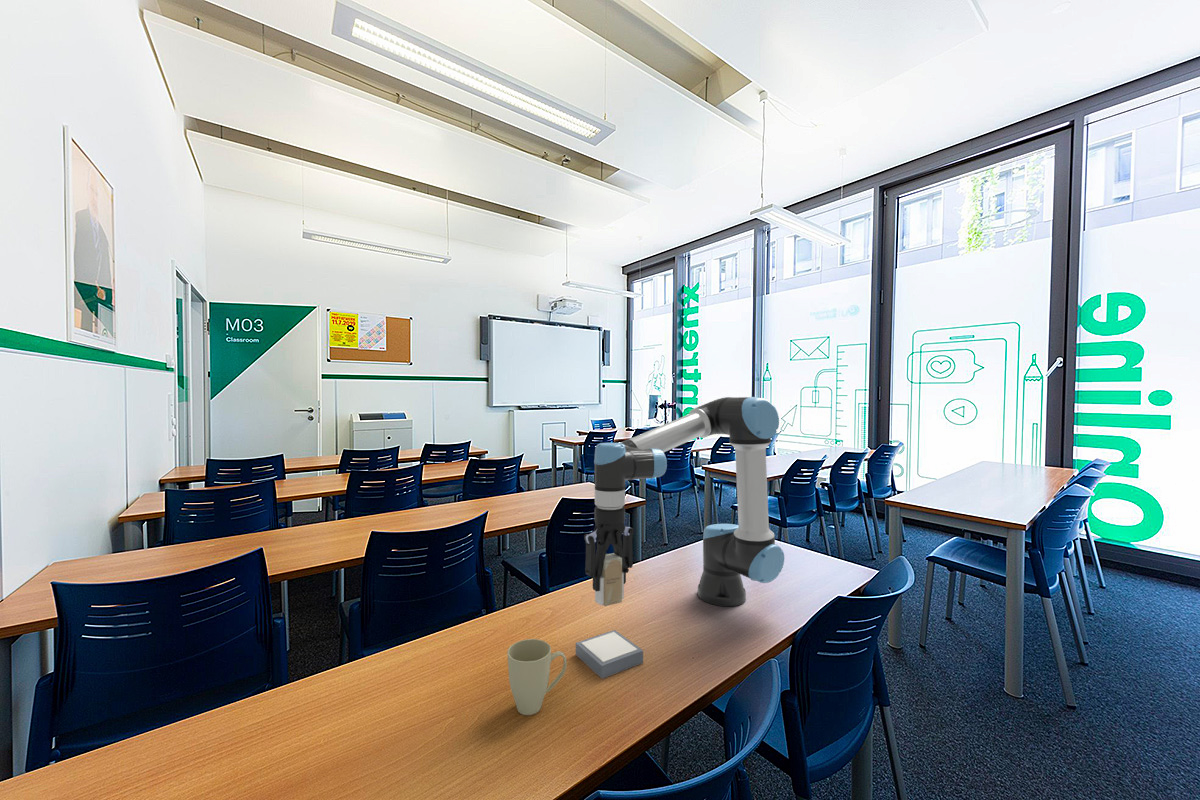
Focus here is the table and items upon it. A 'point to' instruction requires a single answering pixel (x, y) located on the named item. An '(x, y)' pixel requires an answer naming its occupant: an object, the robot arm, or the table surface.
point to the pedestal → (609, 653)
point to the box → (612, 579)
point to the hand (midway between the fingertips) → (609, 600)
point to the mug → (531, 673)
